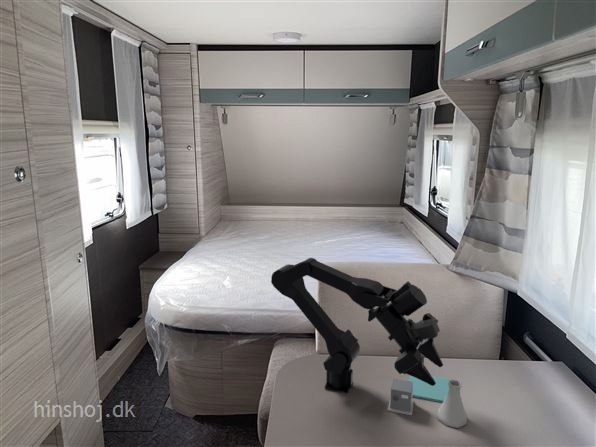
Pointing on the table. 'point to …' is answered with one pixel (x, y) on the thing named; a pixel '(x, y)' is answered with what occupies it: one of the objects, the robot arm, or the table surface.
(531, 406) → the table surface
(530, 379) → the table surface
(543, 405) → the table surface
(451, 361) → the table surface
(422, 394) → the mat
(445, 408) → the flask
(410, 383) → the box
